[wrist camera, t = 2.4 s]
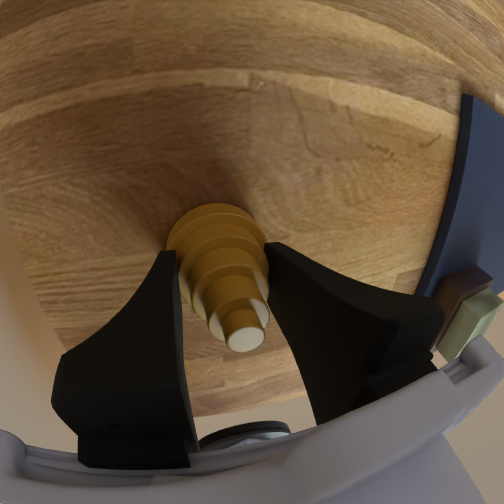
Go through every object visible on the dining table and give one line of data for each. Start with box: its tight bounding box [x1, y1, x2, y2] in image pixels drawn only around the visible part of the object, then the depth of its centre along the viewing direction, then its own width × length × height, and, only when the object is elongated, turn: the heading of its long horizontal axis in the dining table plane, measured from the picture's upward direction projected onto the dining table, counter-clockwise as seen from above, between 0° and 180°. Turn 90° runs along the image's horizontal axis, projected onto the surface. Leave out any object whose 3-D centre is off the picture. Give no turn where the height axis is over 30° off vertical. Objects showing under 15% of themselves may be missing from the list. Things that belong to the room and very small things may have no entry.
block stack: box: [429, 265, 504, 363], centre depth 19 cm, size 7×7×5 cm
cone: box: [166, 203, 270, 352], centre depth 10 cm, size 4×4×6 cm
